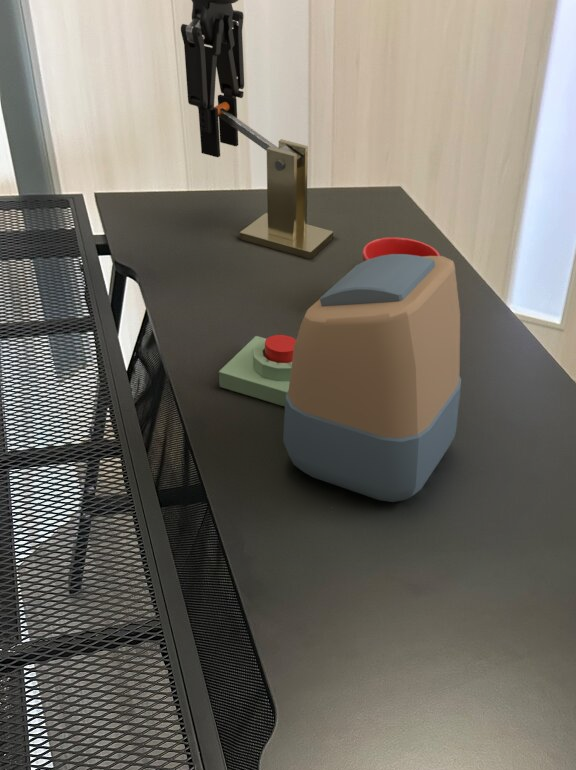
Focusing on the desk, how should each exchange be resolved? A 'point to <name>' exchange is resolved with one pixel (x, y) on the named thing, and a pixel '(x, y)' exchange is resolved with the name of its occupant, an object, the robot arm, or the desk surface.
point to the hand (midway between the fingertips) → (220, 148)
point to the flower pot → (397, 248)
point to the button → (279, 348)
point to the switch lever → (247, 129)
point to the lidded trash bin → (377, 377)
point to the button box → (256, 374)
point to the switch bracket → (287, 206)
